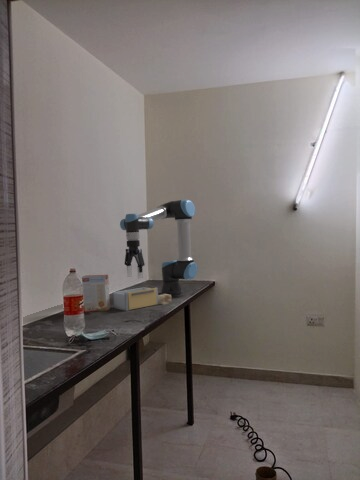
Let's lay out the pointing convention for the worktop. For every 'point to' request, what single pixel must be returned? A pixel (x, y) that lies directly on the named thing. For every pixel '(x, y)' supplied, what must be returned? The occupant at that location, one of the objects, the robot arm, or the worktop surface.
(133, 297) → the panel
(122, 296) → the pale blue open box
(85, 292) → the cracker box
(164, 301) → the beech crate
